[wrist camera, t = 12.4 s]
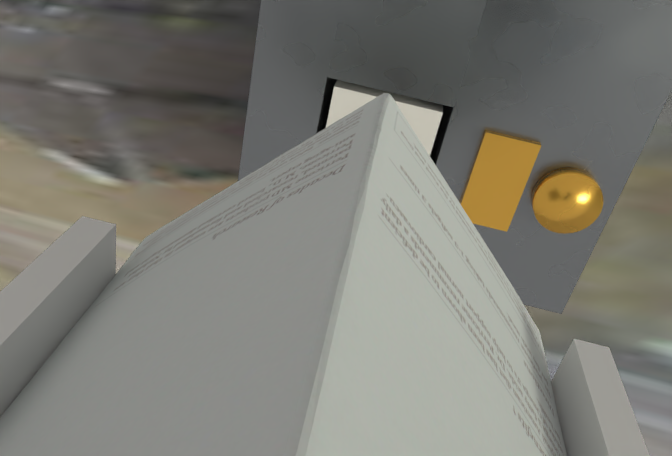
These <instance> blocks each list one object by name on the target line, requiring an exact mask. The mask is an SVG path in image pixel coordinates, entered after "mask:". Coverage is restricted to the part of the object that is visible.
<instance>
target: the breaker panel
mask: <svg viewBox="0 0 672 456" xmlns="http://www.w3.org/2000/svg"><path fill="white" fill-rule="evenodd" d="M337 80H341V81H345V82H350V83H354V84H358V85H362V86H366V87H370V88H375V89H379V90H383V91H387V92H391V93H395V94H400V95H404V96H408V97H412V98H416V99H420V100H425V101H429V102H433V103H437V104H441V105H443V114H442V117H441V121H440V124H439V127H438V131H437V134H436V137H435V141H434V144H433V147H432V151H431V154H430V157H431V159H432V160H433V162H434V164H435V165H436V167H437V168H438V170H439V171H440V173H441V175H442V176H443V178H444V179H445V181H446V182H447V184H448V185H449V187H450V189H451V190H452V192H453V193H454V195H455V196H456V198H457V200H458V201H459V203H460V204H461V206H462V207H463V209H464V210H465V212H466V214H467V215H468V217H469V218H470V220H471V221H472V223H473V225H474V226H475V228H476V229H477V231H478V232H479V234H480V236H481V237H482V239H483V240H484V242H485V243H486V245H487V247H488V248H489V250H490V251H491V253H492V254H493V256H494V258H495V259H496V261H497V262H498V264H499V266H500V267H501V269H502V270H503V272H504V273H505V275H506V277H507V278H508V280H509V281H510V283H511V285H512V286H513V288H514V289H515V291H516V293H517V294H518V296H519V297H520V299H521V301H522V303H523V304H524V305H528V306H532V307H536V308H540V309H544V310H548V311H552V312H556V313H560V314H562V312H563V310H564V307H565V305H566V303H567V301H568V299H569V297H570V295H571V293H572V291H573V289H574V287H575V285H576V283H577V281H578V279H579V277H580V275H581V273H582V271H583V269H584V267H585V265H586V263H587V261H588V259H589V257H590V255H591V253H592V251H593V249H594V247H595V245H596V243H597V240H598V238H599V236H600V234H601V232H602V230H603V228H604V226H605V224H606V222H607V220H608V218H609V216H610V214H611V212H612V210H613V208H614V206H615V204H616V202H617V200H618V198H619V196H620V194H621V192H622V190H623V188H624V186H625V184H626V182H627V180H628V178H629V176H630V173H631V171H632V169H633V167H634V165H635V163H636V161H637V159H638V157H639V155H640V153H641V151H642V149H643V147H644V145H645V143H646V141H647V139H648V137H649V135H650V133H651V131H652V129H653V127H654V125H655V123H656V121H657V119H658V117H659V115H660V113H661V111H662V109H663V106H664V104H665V102H666V100H667V98H668V96H669V94H670V92H671V90H672V0H261V5H260V13H259V20H258V28H257V36H256V44H255V52H254V60H253V67H252V75H251V83H250V91H249V99H248V107H247V114H246V122H245V130H244V138H243V146H242V154H241V162H240V169H239V177H238V181H239V180H241V179H242V178H244V177H245V176H247V175H249V174H251V173H252V172H254V171H256V170H257V169H259V168H261V167H263V166H264V165H266V164H267V163H269V162H271V161H272V160H274V159H275V158H277V157H278V156H280V155H281V154H283V153H285V152H286V151H288V150H290V149H292V148H294V147H295V146H297V145H299V144H301V143H302V142H304V141H305V140H307V139H308V138H310V137H312V136H314V135H315V134H317V133H318V132H320V131H321V130H323V129H325V128H326V124H327V119H328V114H329V109H330V104H331V99H332V94H333V89H334V86H335V84H336V82H337Z"/></svg>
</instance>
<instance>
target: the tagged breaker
mask: <svg viewBox="0 0 672 456" xmlns="http://www.w3.org/2000/svg"><path fill="white" fill-rule="evenodd" d="M383 93H389V94H390V95H391V96H392V97H393V99H394V100H395V102H396V104H397V105H398V107H399V109H400V110H401V112H402V114H403V115H404V117H405V118H406V120H407V121H408V123H409V124H410V126H411V128H412V129H413V131H414V132H415V134H416V135H417V137H418V139H419V140H420V142H421V143H422V145H423V146H424V148H425V150H426V151H427V153H428V154H429V156H430V154H431V151H432V147H433V144H434V141H435V137H436V134H437V131H438V127H439V124H440V121H441V117H442V114H443V105H441V104H437V103H433V102H429V101H425V100H420V99H416V98H412V97H408V96H404V95H400V94H395V93H391V92H387V91H383V90H379V89H375V88H370V87H366V86H362V85H358V84H354V83H350V82H345V81H341V80H337V82H336V84H335V86H334V89H333V94H332V99H331V104H330V109H329V114H328V119H327V124H326V128H327V127H328V126H330V125H331V124H333V123H334V122H336V121H338V120H339V119H341V118H343V117H345V116H346V115H348V114H350V113H352V112H353V111H355V110H356V109H358V108H360V107H361V106H363V105H365V104H366V103H368V102H370V101H371V100H373V99H375V98H376V97H378V96H380V95H381V94H383Z"/></svg>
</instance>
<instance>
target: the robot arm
mask: <svg viewBox="0 0 672 456" xmlns="http://www.w3.org/2000/svg"><path fill="white" fill-rule="evenodd" d="M115 271H116V224H112V223H108V222H104V221H100V220H96V219H92V218H88V217H84V216H82V217H81V218H80V219H79V220H77V221H76V222H75V223H74V224H73V225H72V226H71V227H70V228H69V229H68V230H67V231H65V232H64V233H63V234H62V235H61V236H60V237H59V238H58V239H57V240H56V241H55V242H54V243H52V244H51V245H50V246H49V247H48V248H47V249H46V250H45V251H44V252H43V253H42V254H41V255H39V256H38V257H37V258H36V259H35V260H34V261H33V262H32V263H31V264H30V265H29V266H28V267H26V268H25V269H24V270H23V271H22V272H21V273H20V274H19V275H18V276H17V277H16V278H15V279H13V280H12V281H11V282H10V283H9V284H8V285H7V286H6V287H5V288H4V289H3V290H2V291H0V417H1V416H2V414H3V413H4V412H5V411H6V409H7V408H8V407H9V406H10V404H11V403H12V402H13V401H14V400H15V398H16V397H17V396H18V395H19V393H20V392H21V391H22V390H23V388H24V387H25V386H26V385H27V384H28V382H29V381H30V380H31V379H32V377H33V376H34V375H35V374H36V372H37V371H38V370H39V369H40V367H41V366H42V365H43V364H44V362H45V361H46V360H47V359H48V358H49V356H50V355H51V354H52V353H53V352H54V350H55V349H56V348H57V347H58V345H59V344H60V343H61V341H62V340H63V339H64V337H65V336H66V335H67V334H68V332H69V331H70V330H71V329H72V328H73V326H74V325H75V324H76V323H77V321H78V320H79V319H80V318H81V317H82V315H83V314H84V313H85V312H86V310H87V309H88V308H89V307H90V306H91V304H92V303H93V302H94V301H95V299H96V298H97V297H98V296H99V294H100V293H101V292H102V291H103V290H104V288H105V287H106V286H107V285H108V283H109V282H110V281H111V280H112V279H113V277H114V276H115ZM551 384H552V389H553V394H554V398H555V403H556V408H557V412H558V417H559V422H560V426H561V430H562V435H563V439H564V443H565V447H566V452H567V456H650V455H649V452H648V450H647V447H646V444H645V442H644V439H643V436H642V434H641V431H640V428H639V426H638V423H637V420H636V418H635V415H634V412H633V410H632V407H631V404H630V402H629V399H628V396H627V394H626V391H625V388H624V386H623V383H622V380H621V378H620V375H619V372H618V370H617V367H616V364H615V362H614V359H613V356H612V354H611V351H610V348H609V347H606V346H602V345H598V344H594V343H590V342H586V341H582V340H578V339H573V341H572V343H571V345H570V346H569V348H568V350H567V352H566V354H565V356H564V358H563V360H562V362H561V364H560V366H559V368H558V370H557V372H556V373H555V375H554V377H553V379H552V381H551Z"/></svg>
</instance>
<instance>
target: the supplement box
mask: <svg viewBox="0 0 672 456" xmlns="http://www.w3.org/2000/svg"><path fill="white" fill-rule="evenodd" d="M0 456H567V452H566V447H565V443H564V439H563V435H562V430H561V426H560V422H559V417H558V412H557V408H556V403H555V398H554V394H553V389H552V384H551V380H550V375H549V370H548V365H547V361H546V357H545V352H544V348H543V344H542V340H541V334H540V332H539V330H538V328H537V326H536V325H535V323H534V321H533V320H532V318H531V316H530V314H529V313H528V311H527V309H526V308H525V306H524V304H523V303H522V301H521V299H520V297H519V296H518V294H517V293H516V291H515V289H514V288H513V286H512V285H511V283H510V281H509V280H508V278H507V277H506V275H505V273H504V272H503V270H502V269H501V267H500V266H499V264H498V262H497V261H496V259H495V258H494V256H493V254H492V253H491V251H490V250H489V248H488V247H487V245H486V243H485V242H484V240H483V239H482V237H481V236H480V234H479V232H478V231H477V229H476V228H475V226H474V225H473V223H472V221H471V220H470V218H469V217H468V215H467V214H466V212H465V210H464V209H463V207H462V206H461V204H460V203H459V201H458V200H457V198H456V196H455V195H454V193H453V192H452V190H451V189H450V187H449V185H448V184H447V182H446V181H445V179H444V178H443V176H442V175H441V173H440V171H439V170H438V168H437V167H436V165H435V164H434V162H433V160H432V159H431V157H430V156H429V154H428V153H427V151H426V150H425V148H424V146H423V145H422V143H421V142H420V140H419V139H418V137H417V135H416V134H415V132H414V131H413V129H412V128H411V126H410V124H409V123H408V121H407V120H406V118H405V117H404V115H403V114H402V112H401V110H400V109H399V107H398V105H397V104H396V102H395V100H394V99H393V97H392V96H391V95H390V94H389V93H383V94H381V95H380V96H378V97H376V98H375V99H373V100H371V101H370V102H368V103H366V104H365V105H363V106H361V107H360V108H358V109H356V110H355V111H353V112H352V113H350V114H348V115H346V116H345V117H343V118H341V119H339V120H338V121H336V122H334V123H333V124H331V125H330V126H328V127H327V128H325V129H323V130H321V131H320V132H318V133H317V134H315V135H314V136H312V137H310V138H308V139H307V140H305V141H304V142H302V143H301V144H299V145H297V146H295V147H294V148H292V149H290V150H288V151H286V152H285V153H283V154H281V155H280V156H278V157H277V158H275V159H274V160H272V161H271V162H269V163H267V164H266V165H264V166H263V167H261V168H259V169H257V170H256V171H254V172H252V173H251V174H249V175H247V176H245V177H244V178H242V179H241V180H239V181H237V182H236V183H234V184H233V185H231V186H229V187H228V188H226V189H224V190H223V191H221V192H219V193H218V194H216V195H214V196H213V197H211V198H209V199H208V200H206V201H204V202H203V203H201V204H199V205H198V206H196V207H194V208H193V209H191V210H189V211H188V212H186V213H184V214H183V215H181V216H179V217H178V218H176V219H174V220H173V221H171V222H169V223H168V224H166V225H164V226H163V227H161V228H160V229H158V230H157V231H155V232H153V233H152V234H150V235H148V236H147V237H145V239H144V240H143V241H142V242H141V243H140V244H139V246H138V247H137V248H136V249H135V251H134V252H133V253H132V254H131V256H130V257H129V258H128V260H127V261H126V262H125V264H124V265H123V266H122V267H121V268H120V270H119V271H118V272H117V273H116V275H115V276H114V277H113V279H112V280H111V281H110V282H109V283H108V285H107V286H106V287H105V288H104V290H103V291H102V292H101V293H100V294H99V296H98V297H97V298H96V299H95V301H94V302H93V303H92V304H91V306H90V307H89V308H88V309H87V310H86V312H85V313H84V314H83V315H82V317H81V318H80V319H79V320H78V321H77V323H76V324H75V325H74V326H73V328H72V329H71V330H70V331H69V332H68V334H67V335H66V336H65V337H64V339H63V340H62V341H61V343H60V344H59V345H58V347H57V348H56V349H55V350H54V352H53V353H52V354H51V355H50V356H49V358H48V359H47V360H46V361H45V362H44V364H43V365H42V366H41V367H40V369H39V370H38V371H37V372H36V374H35V375H34V376H33V377H32V379H31V380H30V381H29V382H28V384H27V385H26V386H25V387H24V388H23V390H22V391H21V392H20V393H19V395H18V396H17V397H16V398H15V400H14V401H13V402H12V403H11V404H10V406H9V407H8V408H7V409H6V411H5V412H4V413H3V414H2V416H1V417H0Z"/></svg>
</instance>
